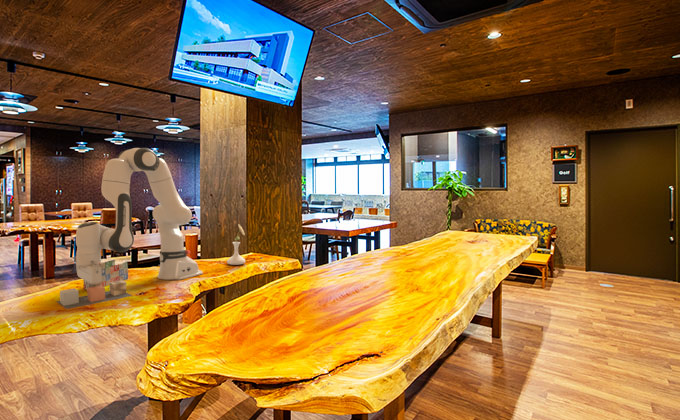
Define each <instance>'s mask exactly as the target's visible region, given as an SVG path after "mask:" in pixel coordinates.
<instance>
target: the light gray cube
mask: <svg viewBox="0 0 680 420" xmlns="http://www.w3.org/2000/svg"><path fill="white" fill-rule="evenodd" d="M79 293H80V292H79V290H78V289H76V288H70V289H68V288H67V289H64V290H63V289H62V290H59V301H60V303H61V304H62V305H64V306H65V305H70V304H75V303H79V297H80V295H79ZM62 305H61V306H62Z"/></svg>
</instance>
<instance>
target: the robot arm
mask: <svg viewBox="0 0 680 420" xmlns="http://www.w3.org/2000/svg"><path fill="white" fill-rule="evenodd" d="M134 172H144V173H145V175H146V177H147V179H148V180H147V181H148V183H149V186H150V189H151V192H152V196H153V197H154V199H155V200H157V201H158V203H159V204H158V205H156V206H155V207H154V208H153V209H152V217H153V219H154V220H155V222H156V224H157V229H158V231H159V237H160V250H159V263H160V266H159V269H158V270H159V271H158V275H157V278H158V280H159V279H160V280H184V279H189V278H192V277H195V276H199V275H203V274H204V273H203V271H202V270H201V269H199V266H198V263H197V262H196V261H195V260H194V259H192V258H191V257H189V256H188V255H190V254H191V251H190V250H188V249H185V248H184V233H182V231H181V230H180V226H183V225H187V224H189V223H190V222H191V220H192V217H193V214H192V211H191V209H190V208H189V207H188V206H187V205H186V203H185V202H184V201H183V199H182V197H181V196H180V194H179V193H178V191H177V187H176V184H175V182H174V180H173V176H172V173H171V171H170V168H169V166H168V163H166V161H165V159H164V158H161V157H158V155H157V154H156V152H155V151H153V150H152V149H150V148H147V147H133V148H130V149H124V150H122V151H121V152H119V154H118V155H117V157H116V158H111V159H109V160H108V161H107V162H106V164H105V167H104V169H103V175H102V179H101V188H100V189H101V195H102V196H103V197H104V198H105V200H107V202H110V204H112V206H113V207H114V209H115V228H112V227H111V228H110V227H106V226H104V225H102V224H100V223H98V222H96V221H90V222H89V221H88V222H84V223H81V224H80V225H79V224H78V226H77V228H76V234H75V245H76V247H77V248H76V249H77V250H76V253H75V256H74V258H73V260H74V262H75V267H76V275H77V277H78V278H80V279H82V280H83V281H84V280H85V284H86V289H85V290H86V291H87V288H89V287H93V286H94V285H95V284H100V283H101V282H102V273H101V267H100V266H99V265H98V264H99V263H101V259H102V249H103V250H104V249H105V250H109V251H113V252H116V253H126V252H127V251H128V250H130V249H131V248H132V246H133V245H134V243H135V236H134V233H133V232H134V231H133V225H132V224H133V203H132V198H131V195H130V193H131V192H130V190H131V187H130V186H131V177H132V175H133V173H134Z"/></svg>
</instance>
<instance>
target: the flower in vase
mask: <svg viewBox="0 0 680 420" xmlns="http://www.w3.org/2000/svg"><path fill="white" fill-rule="evenodd" d="M237 226H238V229H239V230H238V233H237V235H236V237H235V238H234V241H232V244H233V247H234V248H233V249H234V251H233V254H232V256H230V257H229V258H228V259H227V261H226V263H227V264H228V265H230V266H231V265H232V266H238V265H239V266H240V265H243V264H245V263H246V259H245V258H244V257H243V256H241V255H240V254H239V246H240V244H241V241H239V240H240V238H241V237H240V236H239V233H240V232H241V235H243V236H246V234H245V231H244V229H243V227H242V226H241V224H239V223H238V225H237Z"/></svg>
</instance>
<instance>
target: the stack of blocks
mask: <svg viewBox="0 0 680 420" xmlns="http://www.w3.org/2000/svg"><path fill="white" fill-rule="evenodd" d="M128 262H129V261H124V260H122V261H121V260H115V259H113V258H111V259H110V258H101V263H99V264H98V265H99V266H100V267H101V273H102V282H101V283H100V284H95V285H94V286H93V287H95V286H100V285H101V286H103V287H104V288H105V287H107V286H110V282H114V281H120V280H122V281H126V280H128V279H129V268H128V267H129V265H128ZM83 290H86V284H85V280H83Z"/></svg>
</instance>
